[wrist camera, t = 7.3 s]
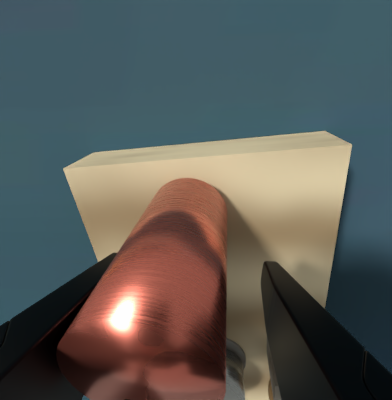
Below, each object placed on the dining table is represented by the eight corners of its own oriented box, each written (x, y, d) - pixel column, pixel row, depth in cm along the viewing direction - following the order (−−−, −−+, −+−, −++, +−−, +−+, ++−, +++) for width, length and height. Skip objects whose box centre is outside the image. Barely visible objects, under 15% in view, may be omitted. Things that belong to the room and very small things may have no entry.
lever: (245, 404, 18) (253, 575, 12) (189, 399, 19) (170, 558, 13) (234, 172, 10) (244, 325, 4) (138, 179, 11) (9, 316, 4)
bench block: (297, 376, 22) (319, 472, 16) (160, 367, 24) (140, 449, 18) (325, 130, 12) (400, 168, 7) (94, 152, 14) (14, 194, 9)
